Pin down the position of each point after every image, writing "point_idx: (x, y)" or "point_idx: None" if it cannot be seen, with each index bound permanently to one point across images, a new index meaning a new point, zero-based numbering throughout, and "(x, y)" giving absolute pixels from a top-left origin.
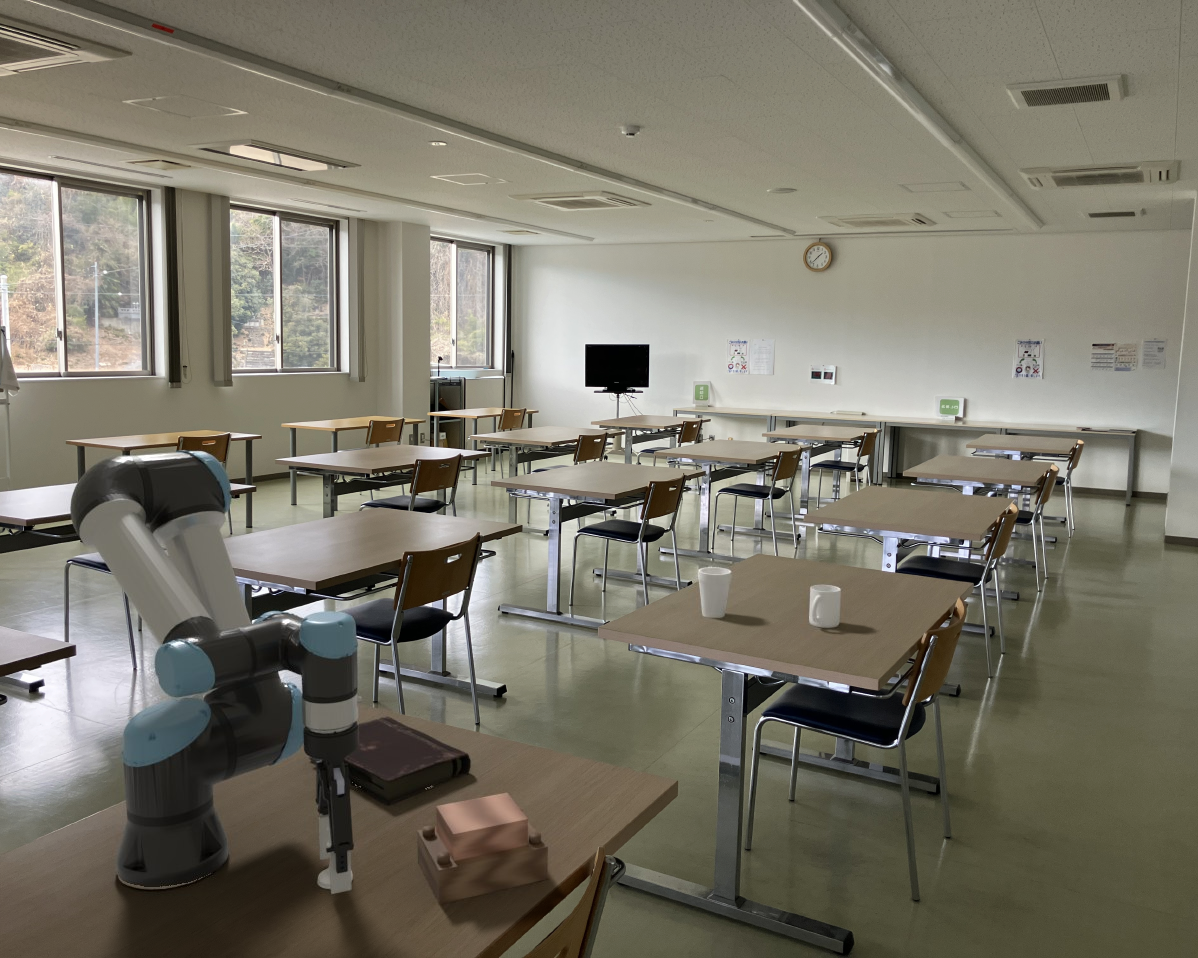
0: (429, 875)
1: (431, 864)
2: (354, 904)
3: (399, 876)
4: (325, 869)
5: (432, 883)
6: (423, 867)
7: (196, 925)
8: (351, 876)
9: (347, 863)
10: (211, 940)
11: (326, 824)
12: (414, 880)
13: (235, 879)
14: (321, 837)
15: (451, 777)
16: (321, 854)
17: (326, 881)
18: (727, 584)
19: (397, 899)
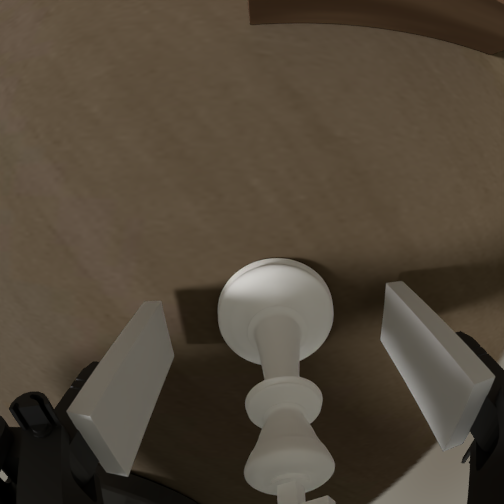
0: (422, 21)
1: (476, 10)
2: (432, 267)
3: (332, 98)
4: (234, 346)
5: (449, 31)
6: (340, 15)
7: (333, 498)
8: (302, 269)
9: (483, 349)
10: (386, 479)
11: (129, 429)
12: (371, 60)
13: (201, 474)
14: (151, 405)
15: None
16: (169, 364)
17: (312, 348)
18: None
19: (454, 142)
